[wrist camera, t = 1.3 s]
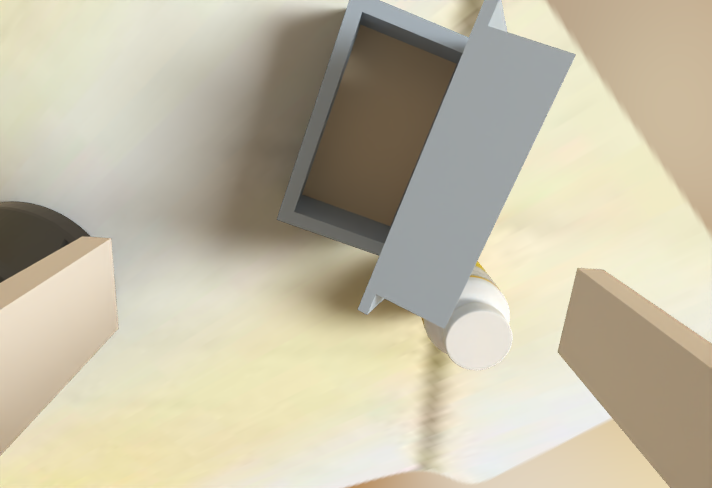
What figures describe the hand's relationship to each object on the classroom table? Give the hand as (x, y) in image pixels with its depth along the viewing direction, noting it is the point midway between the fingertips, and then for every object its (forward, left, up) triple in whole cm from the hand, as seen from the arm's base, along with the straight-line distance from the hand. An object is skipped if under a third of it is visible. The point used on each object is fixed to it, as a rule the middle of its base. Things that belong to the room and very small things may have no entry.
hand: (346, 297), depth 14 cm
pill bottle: (+12, -7, -28) cm, 31 cm away
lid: (+4, +3, -16) cm, 17 cm away
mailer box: (+1, +3, -28) cm, 28 cm away
